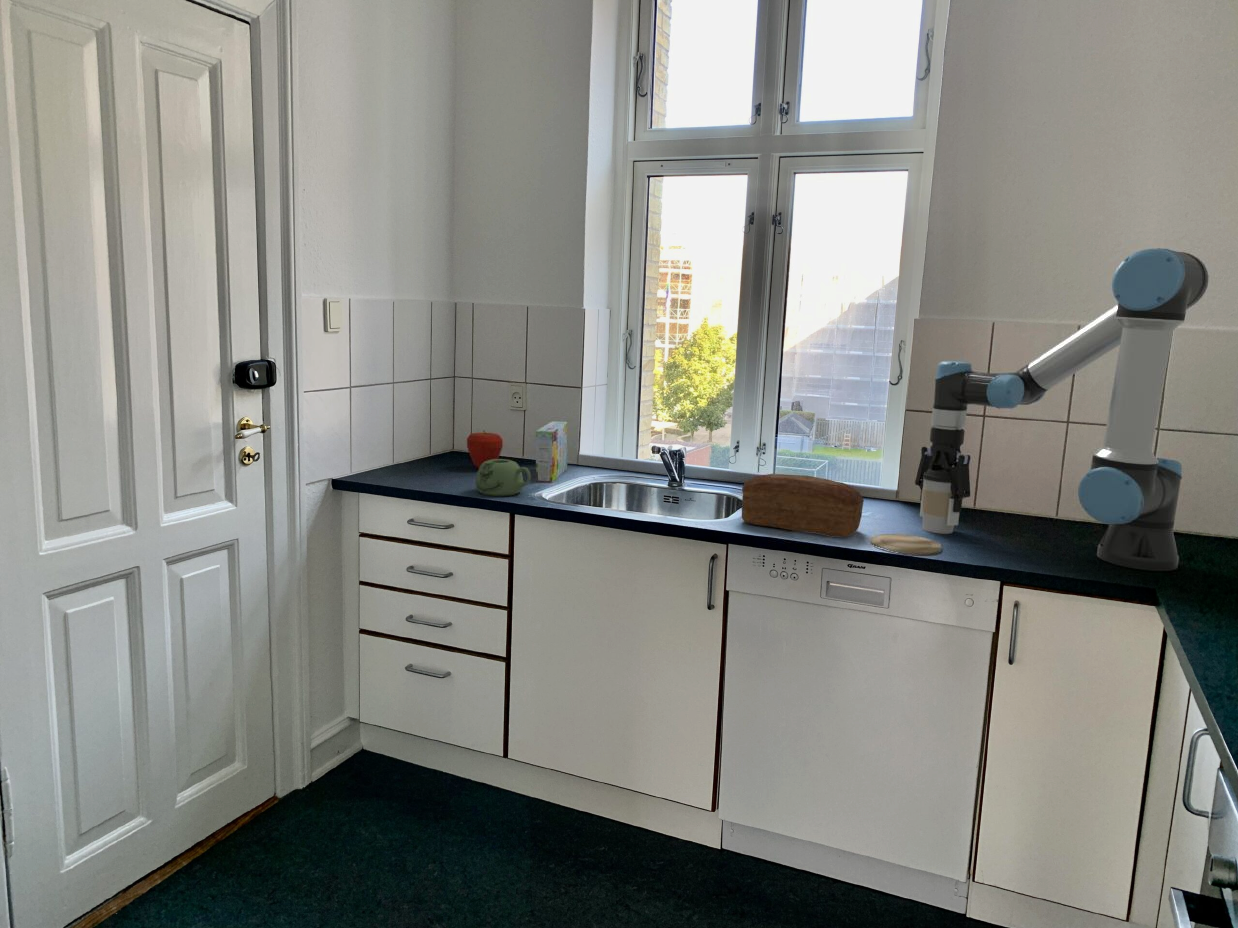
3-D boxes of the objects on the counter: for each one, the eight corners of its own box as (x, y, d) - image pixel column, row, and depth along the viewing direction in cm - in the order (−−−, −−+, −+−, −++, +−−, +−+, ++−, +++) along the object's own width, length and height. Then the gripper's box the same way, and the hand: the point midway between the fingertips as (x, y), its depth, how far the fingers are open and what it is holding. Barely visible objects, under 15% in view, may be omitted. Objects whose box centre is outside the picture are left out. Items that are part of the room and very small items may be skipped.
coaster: (956, 552, 192) (956, 548, 192) (900, 557, 187) (901, 553, 187) (909, 535, 206) (909, 531, 206) (856, 539, 200) (857, 535, 200)
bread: (752, 514, 223) (755, 466, 221) (865, 530, 210) (869, 480, 208) (733, 525, 211) (736, 474, 209) (851, 543, 198) (855, 489, 196)
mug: (465, 493, 234) (465, 461, 233) (492, 485, 246) (493, 455, 244) (517, 501, 228) (517, 468, 226) (542, 492, 239) (543, 461, 238)
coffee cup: (960, 536, 207) (967, 473, 205) (920, 532, 209) (926, 470, 206) (954, 527, 216) (960, 466, 213) (915, 524, 218) (921, 464, 215)
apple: (485, 473, 262) (485, 433, 260) (458, 469, 268) (458, 429, 266) (509, 468, 271) (510, 430, 269) (483, 464, 277) (483, 426, 275)
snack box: (550, 469, 274) (551, 420, 271) (567, 470, 273) (569, 421, 271) (534, 481, 253) (535, 429, 251) (553, 483, 253) (554, 430, 250)
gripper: (994, 433, 200) (983, 530, 204) (929, 421, 219) (920, 509, 223) (968, 434, 197) (958, 532, 201) (904, 421, 216) (896, 511, 220)
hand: (938, 520), depth 212 cm, fingers closed on coffee cup, 8 cm apart
